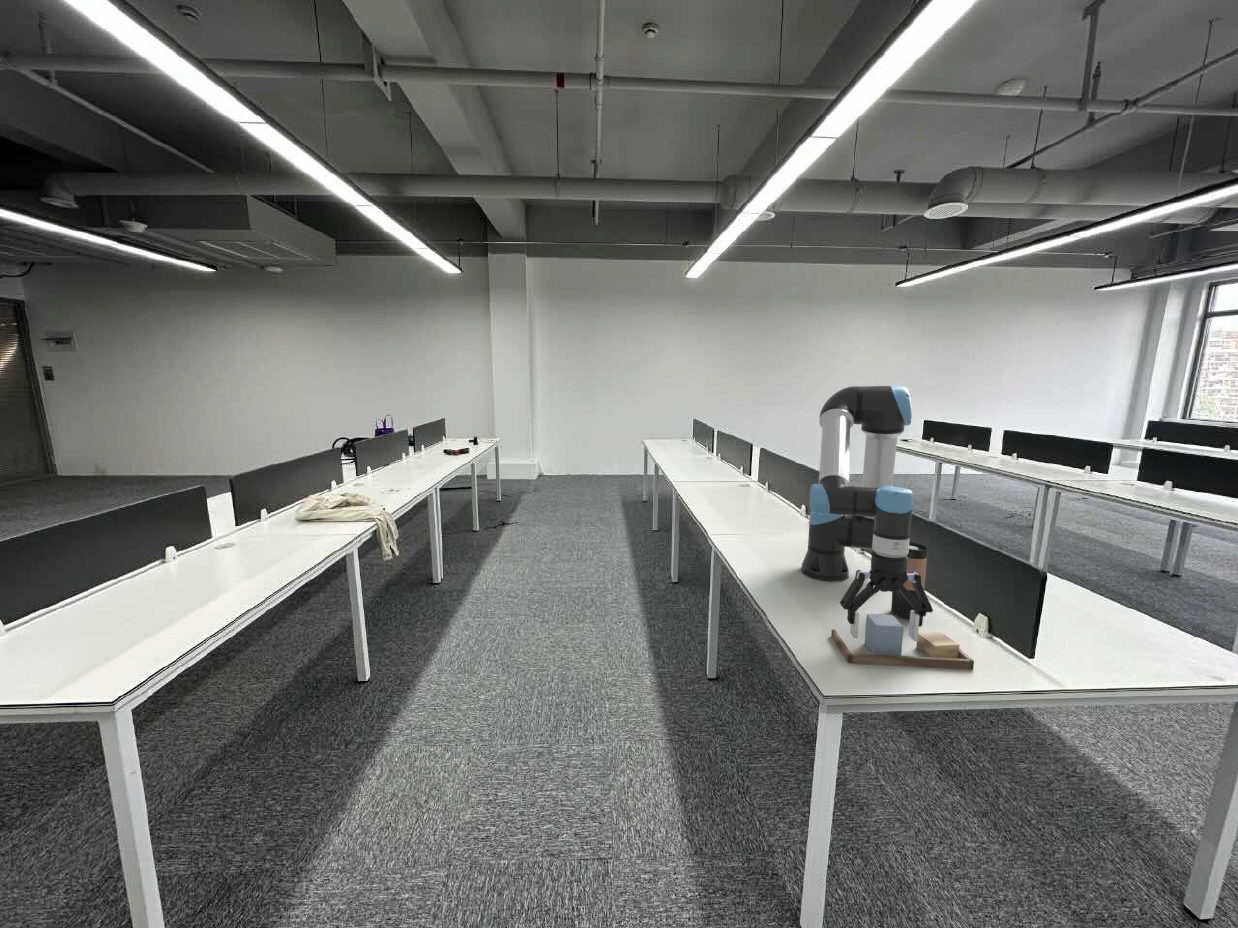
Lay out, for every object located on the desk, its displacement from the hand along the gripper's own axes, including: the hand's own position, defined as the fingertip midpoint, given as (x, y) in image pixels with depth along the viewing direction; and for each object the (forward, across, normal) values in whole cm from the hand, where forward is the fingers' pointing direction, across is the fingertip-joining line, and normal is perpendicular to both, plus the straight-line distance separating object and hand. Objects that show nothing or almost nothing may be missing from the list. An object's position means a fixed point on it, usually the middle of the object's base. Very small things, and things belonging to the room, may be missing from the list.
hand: (883, 637), depth 117 cm
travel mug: (+4, +15, +21) cm, 26 cm away
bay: (+4, +4, 0) cm, 5 cm away
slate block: (+4, 0, 0) cm, 4 cm away
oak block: (+4, +12, 0) cm, 13 cm away
